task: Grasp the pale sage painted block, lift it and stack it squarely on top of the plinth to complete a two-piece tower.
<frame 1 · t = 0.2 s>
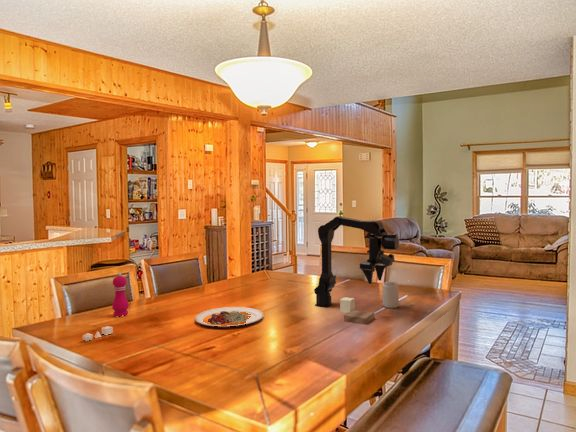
hand: (375, 282, 207), 14 cm above the table, fingers open, 9 cm apart
can: (390, 307, 217), on the table
pepper mill: (120, 315, 210), on the table
block: (347, 311, 210), on the table
plinth: (359, 320, 196), on the table
plated food: (229, 320, 201), on the table
game pieces: (97, 338, 178), on the table
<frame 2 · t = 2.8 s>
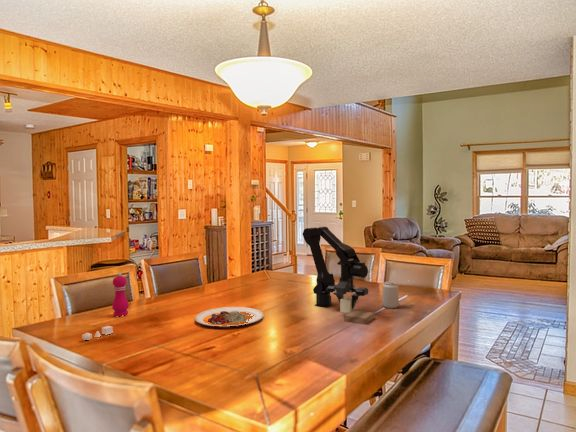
hand: (347, 308, 210), 2 cm above the table, fingers closed on block, 5 cm apart
block: (347, 311, 210), on the table, touching gripper
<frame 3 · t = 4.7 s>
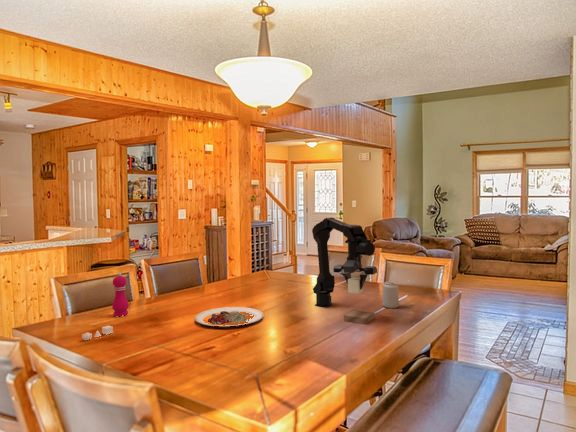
hand: (355, 288, 200), 13 cm above the table, fingers closed on block, 5 cm apart
block: (355, 292, 200), point 11 cm above the table, touching gripper
when the fingers open (6 cm above the table, at t = 6.9 s): block drops 2 cm, point 2 cm above the table.
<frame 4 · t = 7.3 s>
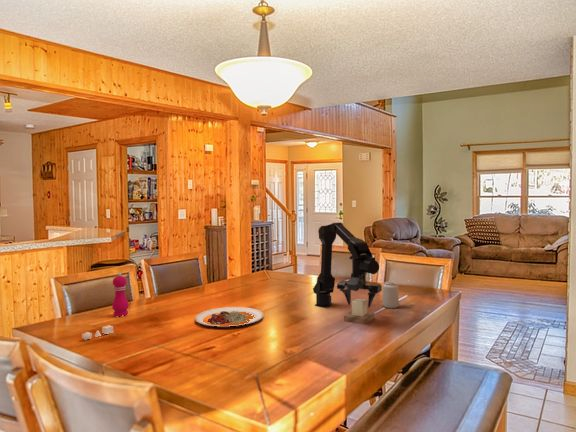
hand: (359, 306, 196), 6 cm above the table, fingers open, 9 cm apart
block: (359, 314, 196), point 2 cm above the table
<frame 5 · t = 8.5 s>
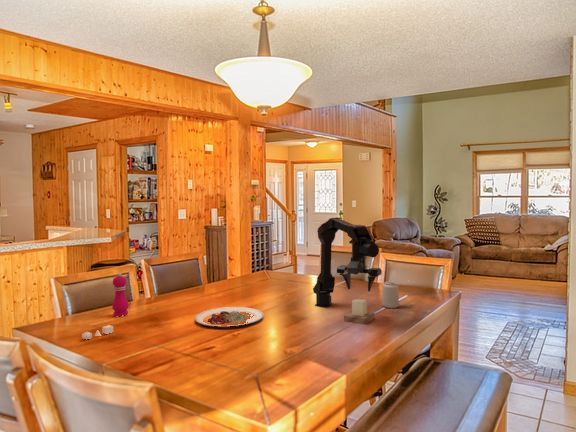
hand: (358, 290, 196), 13 cm above the table, fingers open, 9 cm apart
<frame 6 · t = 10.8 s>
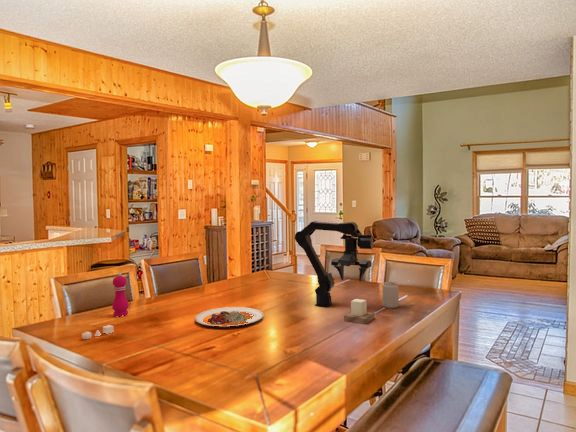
hand: (351, 280, 216), 13 cm above the table, fingers open, 9 cm apart
block: (358, 314, 196), point 2 cm above the table, touching plinth
plinth: (359, 321, 196), on the table, touching block
at the end: block inside the target area on the plinth (0.3 cm from its centre), point 3.0 cm above the plinth's base; block tilted 0°; the gripper is holding nothing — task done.
